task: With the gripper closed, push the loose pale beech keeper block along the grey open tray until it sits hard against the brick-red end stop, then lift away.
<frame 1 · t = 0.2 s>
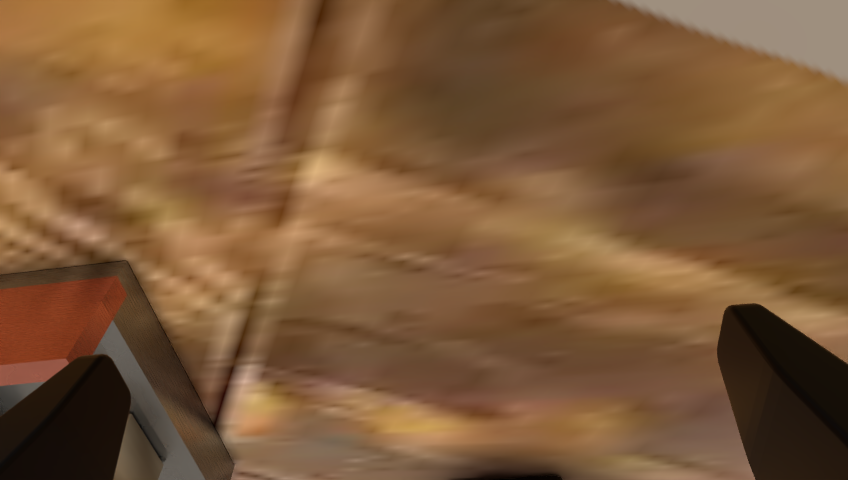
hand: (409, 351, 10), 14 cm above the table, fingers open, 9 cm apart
grey open tray: (88, 386, 32), on the table
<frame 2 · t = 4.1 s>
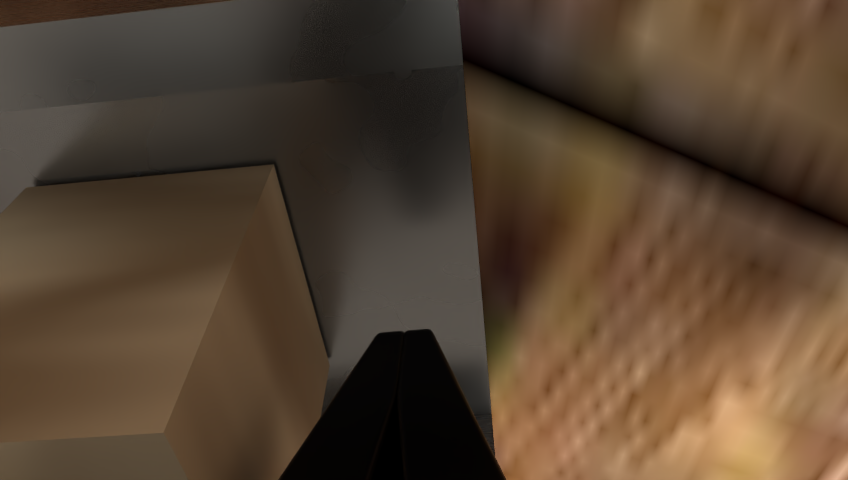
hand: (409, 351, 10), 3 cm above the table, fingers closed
grey open tray: (108, 256, 13), on the table
keeper: (140, 396, 9), point 4 cm above the table, slide at -2.0 cm, touching gripper
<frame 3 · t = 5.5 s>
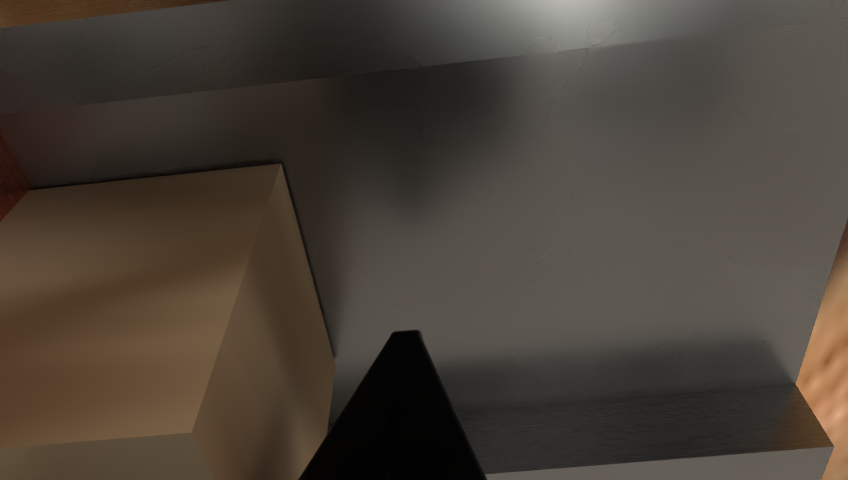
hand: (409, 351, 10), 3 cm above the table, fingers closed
grey open tray: (426, 227, 12), on the table
keeper: (151, 398, 9), point 4 cm above the table, slide at 4.0 cm, touching gripper, grey open tray
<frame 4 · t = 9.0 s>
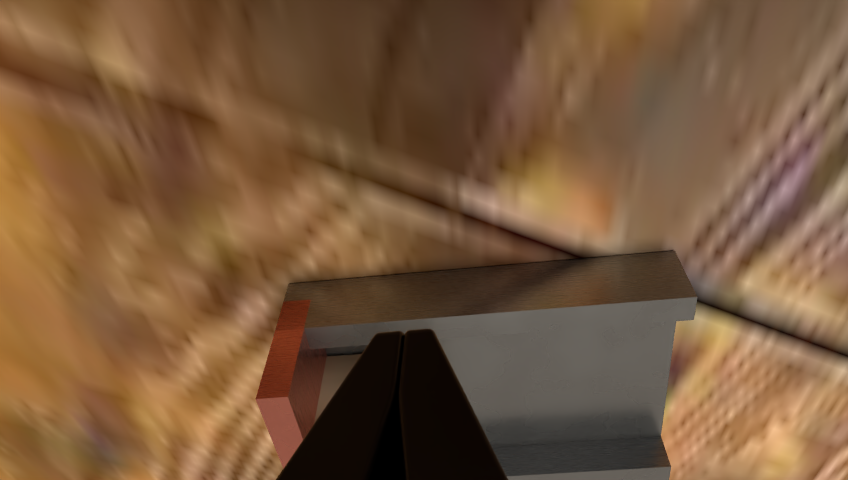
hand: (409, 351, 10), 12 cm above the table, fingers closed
grey open tray: (486, 364, 27), on the table
keeper: (383, 444, 24), point 4 cm above the table, slide at 4.0 cm, touching grey open tray
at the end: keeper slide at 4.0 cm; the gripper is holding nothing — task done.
